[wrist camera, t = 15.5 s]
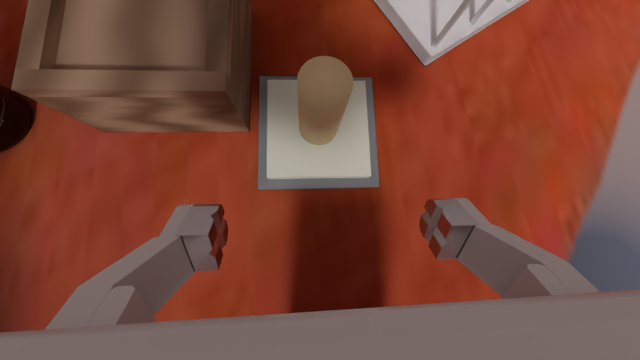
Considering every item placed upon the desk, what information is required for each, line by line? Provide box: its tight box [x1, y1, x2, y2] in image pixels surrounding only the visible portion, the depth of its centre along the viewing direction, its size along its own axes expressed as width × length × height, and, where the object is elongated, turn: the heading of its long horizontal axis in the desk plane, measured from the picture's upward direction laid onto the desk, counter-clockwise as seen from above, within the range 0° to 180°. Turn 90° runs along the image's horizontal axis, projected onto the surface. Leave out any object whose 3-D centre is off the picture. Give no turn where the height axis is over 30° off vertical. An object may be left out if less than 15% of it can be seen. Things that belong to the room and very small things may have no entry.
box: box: [11, 0, 252, 132], centre depth 22 cm, size 14×14×8 cm
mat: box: [258, 76, 379, 190], centre depth 26 cm, size 12×12×1 cm
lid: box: [267, 56, 371, 179], centre depth 21 cm, size 10×10×9 cm
